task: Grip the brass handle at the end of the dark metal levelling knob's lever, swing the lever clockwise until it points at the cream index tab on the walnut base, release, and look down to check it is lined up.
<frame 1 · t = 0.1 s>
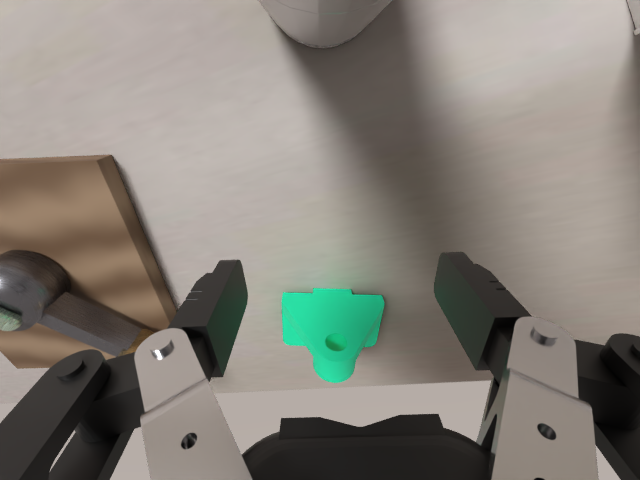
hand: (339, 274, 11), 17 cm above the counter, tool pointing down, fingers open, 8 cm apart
walnut base: (61, 277, 33), on the counter
camera mount: (330, 309, 36), on the counter
levelling knob: (48, 340, 27), point 8 cm above the counter, hinge at 45.0°
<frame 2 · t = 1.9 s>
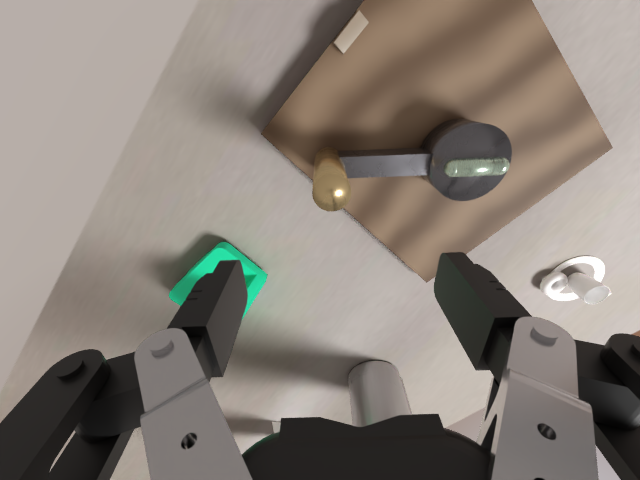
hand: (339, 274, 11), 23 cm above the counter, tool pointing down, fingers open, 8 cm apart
walnut base: (432, 137, 30), on the counter
teacup and saucer: (566, 261, 39), on the counter
camera mount: (221, 276, 40), on the counter
levelling knob: (414, 170, 24), point 8 cm above the counter, hinge at 45.0°
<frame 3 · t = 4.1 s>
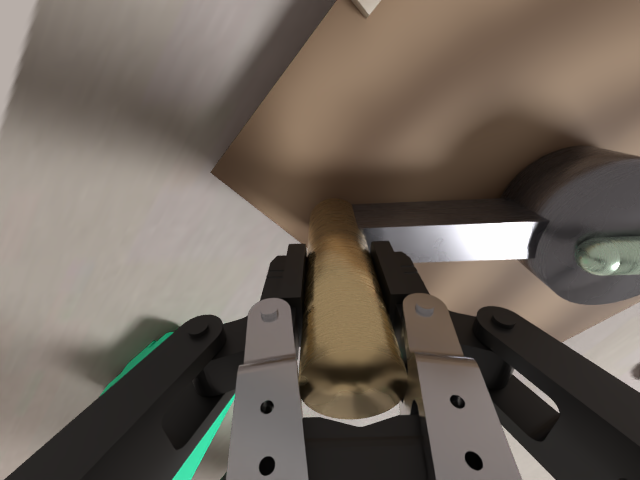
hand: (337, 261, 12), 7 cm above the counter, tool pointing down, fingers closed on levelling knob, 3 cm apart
walnut base: (514, 174, 18), on the counter
camera mount: (177, 368, 27), on the counter
levelling knob: (519, 261, 12), point 8 cm above the counter, hinge at 45.0°, touching gripper
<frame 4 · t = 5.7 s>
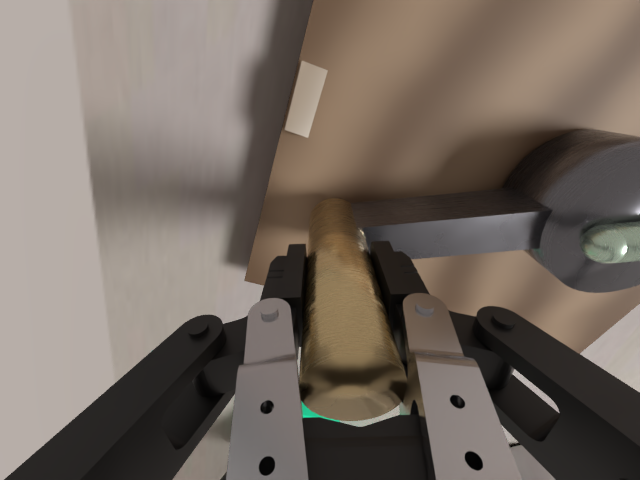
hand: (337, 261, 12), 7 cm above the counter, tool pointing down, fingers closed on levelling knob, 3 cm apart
walnut base: (507, 172, 17), on the counter
levelling knob: (522, 253, 11), point 8 cm above the counter, hinge at 24.1°, touching gripper
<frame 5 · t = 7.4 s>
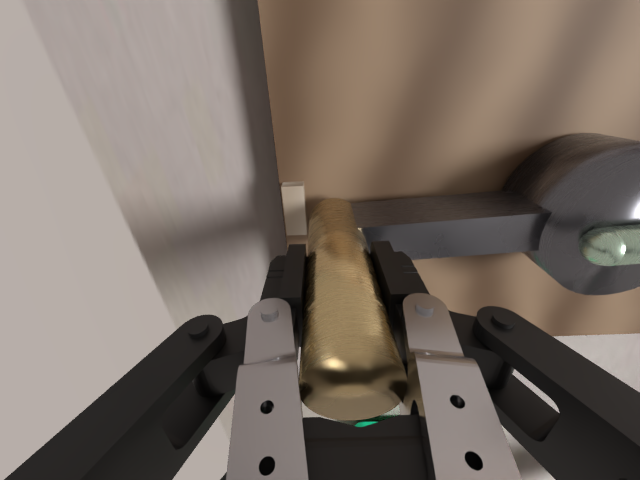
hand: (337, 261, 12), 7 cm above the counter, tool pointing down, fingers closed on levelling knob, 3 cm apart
walnut base: (501, 185, 18), on the counter
levelling knob: (521, 254, 11), point 8 cm above the counter, hinge at 2.5°, touching gripper
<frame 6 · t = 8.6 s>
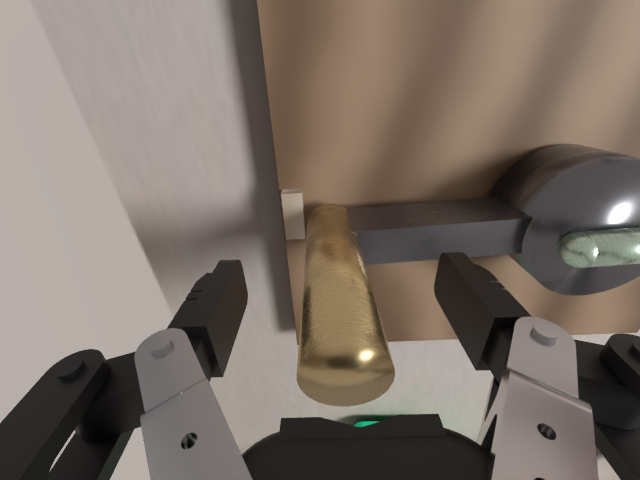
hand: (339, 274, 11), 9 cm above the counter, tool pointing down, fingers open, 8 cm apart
walnut base: (489, 192, 19), on the counter
levelling knob: (503, 257, 12), point 8 cm above the counter, hinge at 2.3°
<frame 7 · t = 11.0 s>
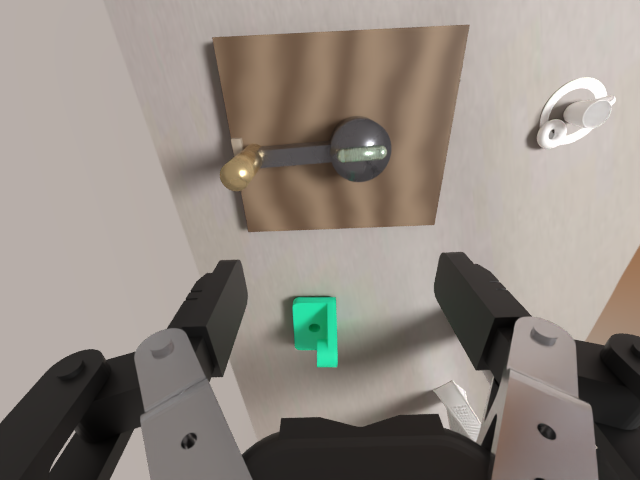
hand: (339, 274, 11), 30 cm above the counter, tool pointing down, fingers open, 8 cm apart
walnut base: (339, 143, 38), on the counter
teacup and saucer: (547, 106, 36), on the counter
camera mount: (314, 316, 54), on the counter
skyscraper: (448, 389, 64), on the counter
levelling knob: (313, 158, 31), point 8 cm above the counter, hinge at 2.3°
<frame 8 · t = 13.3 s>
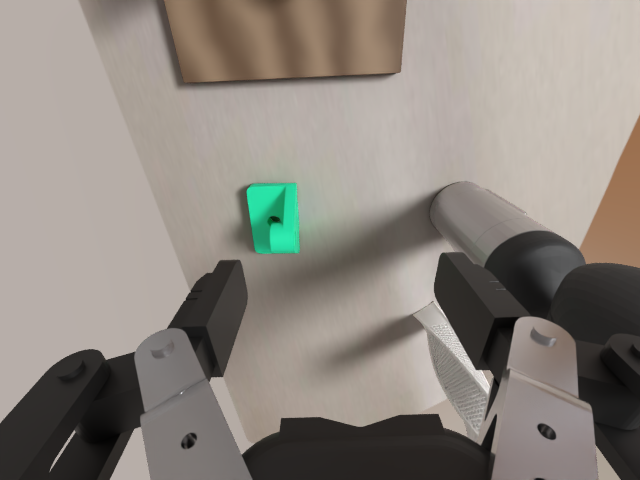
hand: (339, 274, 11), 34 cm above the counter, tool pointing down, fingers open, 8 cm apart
camera mount: (276, 215, 48), on the counter
skyscraper: (429, 313, 58), on the counter
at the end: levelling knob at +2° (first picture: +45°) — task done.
